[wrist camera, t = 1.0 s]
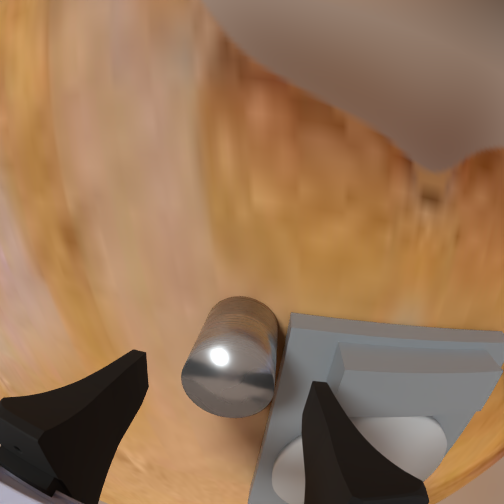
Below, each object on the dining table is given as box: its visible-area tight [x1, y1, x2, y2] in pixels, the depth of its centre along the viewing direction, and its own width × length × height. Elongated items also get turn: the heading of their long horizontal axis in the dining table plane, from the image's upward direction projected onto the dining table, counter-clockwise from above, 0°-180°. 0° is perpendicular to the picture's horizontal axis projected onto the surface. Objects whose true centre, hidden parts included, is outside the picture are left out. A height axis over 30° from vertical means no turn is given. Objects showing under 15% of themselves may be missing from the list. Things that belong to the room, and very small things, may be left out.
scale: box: [248, 313, 504, 504], centre depth 17 cm, size 15×19×4 cm
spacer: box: [181, 296, 278, 418], centre depth 15 cm, size 4×4×5 cm
